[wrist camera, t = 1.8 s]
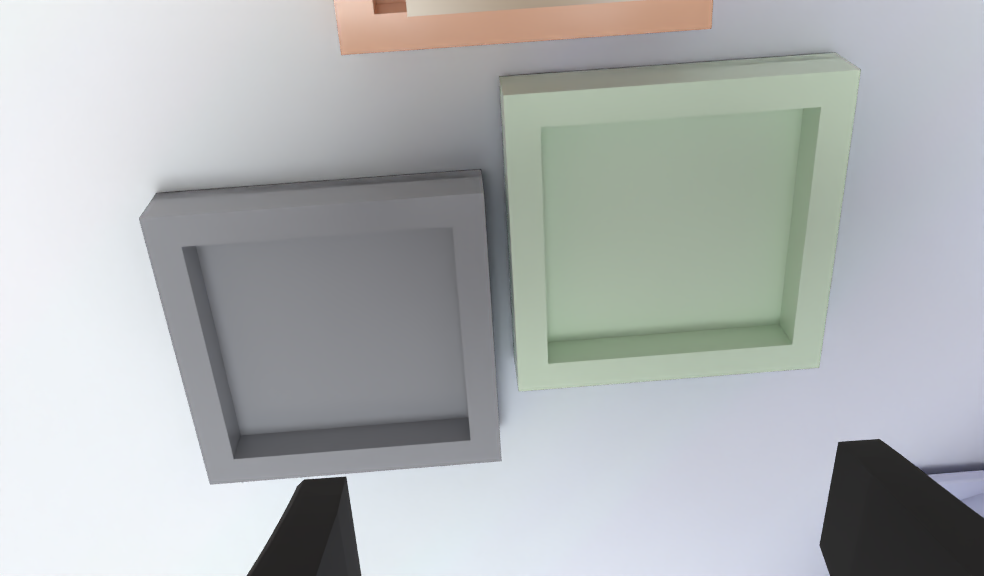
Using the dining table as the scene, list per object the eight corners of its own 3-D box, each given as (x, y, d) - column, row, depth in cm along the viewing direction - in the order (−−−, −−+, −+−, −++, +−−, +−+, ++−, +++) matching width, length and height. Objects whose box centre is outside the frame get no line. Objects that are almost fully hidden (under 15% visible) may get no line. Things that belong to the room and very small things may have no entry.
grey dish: (480, 169, 20) (484, 192, 19) (497, 428, 23) (501, 460, 22) (156, 193, 20) (139, 218, 19) (221, 450, 23) (210, 484, 22)
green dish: (835, 52, 19) (861, 69, 18) (799, 337, 22) (819, 367, 21) (499, 76, 19) (503, 95, 18) (514, 360, 22) (518, 391, 21)
